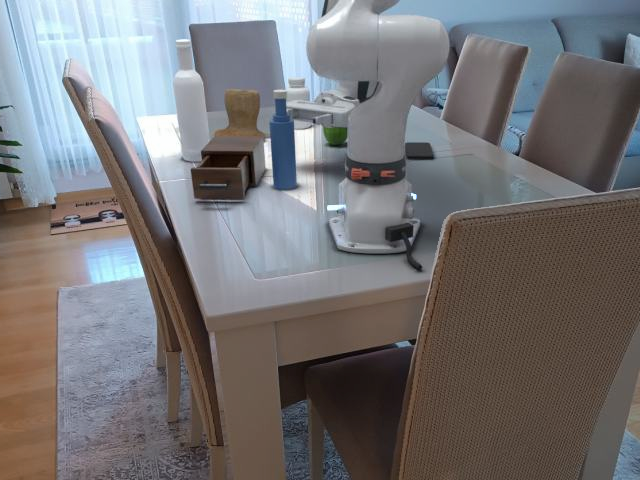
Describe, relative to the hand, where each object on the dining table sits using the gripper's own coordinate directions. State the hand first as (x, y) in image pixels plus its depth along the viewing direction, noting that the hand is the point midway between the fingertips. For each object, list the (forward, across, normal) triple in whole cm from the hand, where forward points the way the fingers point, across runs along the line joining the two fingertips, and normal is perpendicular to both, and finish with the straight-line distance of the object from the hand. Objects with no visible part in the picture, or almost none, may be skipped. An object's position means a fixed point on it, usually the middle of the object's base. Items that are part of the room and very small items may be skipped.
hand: (298, 119), depth 153 cm
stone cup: (-23, -40, +15) cm, 49 cm away
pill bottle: (-48, -36, +15) cm, 61 cm away
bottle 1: (-1, -37, +15) cm, 40 cm away
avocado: (-34, -12, +15) cm, 39 cm away
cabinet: (+8, -15, +15) cm, 22 cm away
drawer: (+20, -8, +14) cm, 26 cm away
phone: (-39, +13, +15) cm, 44 cm away
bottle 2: (+7, 0, +15) cm, 16 cm away
